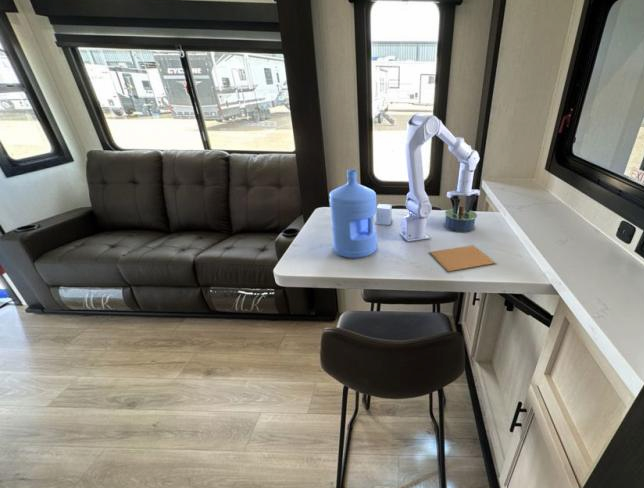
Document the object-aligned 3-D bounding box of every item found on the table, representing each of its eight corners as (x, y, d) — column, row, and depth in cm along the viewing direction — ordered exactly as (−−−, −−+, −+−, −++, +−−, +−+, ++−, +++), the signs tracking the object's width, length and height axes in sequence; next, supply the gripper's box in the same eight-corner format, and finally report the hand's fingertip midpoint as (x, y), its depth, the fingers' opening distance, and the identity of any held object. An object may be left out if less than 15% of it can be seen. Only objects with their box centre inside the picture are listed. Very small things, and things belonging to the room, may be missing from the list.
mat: (448, 271, 99) (448, 270, 99) (430, 253, 111) (430, 252, 111) (494, 263, 105) (494, 262, 105) (472, 246, 116) (472, 245, 116)
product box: (378, 219, 138) (378, 203, 134) (391, 220, 137) (392, 204, 134) (376, 224, 133) (375, 208, 129) (389, 225, 132) (390, 209, 128)
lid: (454, 223, 123) (455, 212, 121) (439, 212, 134) (440, 202, 132) (482, 219, 127) (484, 209, 125) (466, 209, 138) (467, 199, 136)
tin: (453, 233, 126) (455, 221, 124) (440, 222, 136) (441, 211, 133) (479, 230, 130) (481, 218, 127) (464, 220, 140) (465, 208, 137)
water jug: (325, 253, 108) (316, 173, 94) (347, 237, 120) (343, 163, 106) (364, 262, 103) (362, 179, 89) (383, 244, 116) (384, 168, 102)
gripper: (454, 184, 118) (450, 217, 124) (486, 181, 122) (480, 214, 129) (445, 179, 123) (442, 211, 130) (476, 177, 128) (471, 208, 135)
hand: (461, 212), depth 130 cm, fingers open, 5 cm apart
